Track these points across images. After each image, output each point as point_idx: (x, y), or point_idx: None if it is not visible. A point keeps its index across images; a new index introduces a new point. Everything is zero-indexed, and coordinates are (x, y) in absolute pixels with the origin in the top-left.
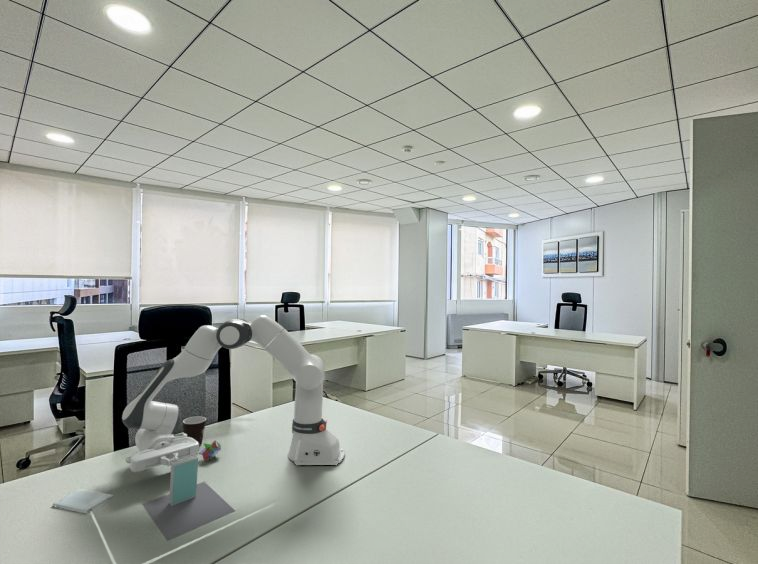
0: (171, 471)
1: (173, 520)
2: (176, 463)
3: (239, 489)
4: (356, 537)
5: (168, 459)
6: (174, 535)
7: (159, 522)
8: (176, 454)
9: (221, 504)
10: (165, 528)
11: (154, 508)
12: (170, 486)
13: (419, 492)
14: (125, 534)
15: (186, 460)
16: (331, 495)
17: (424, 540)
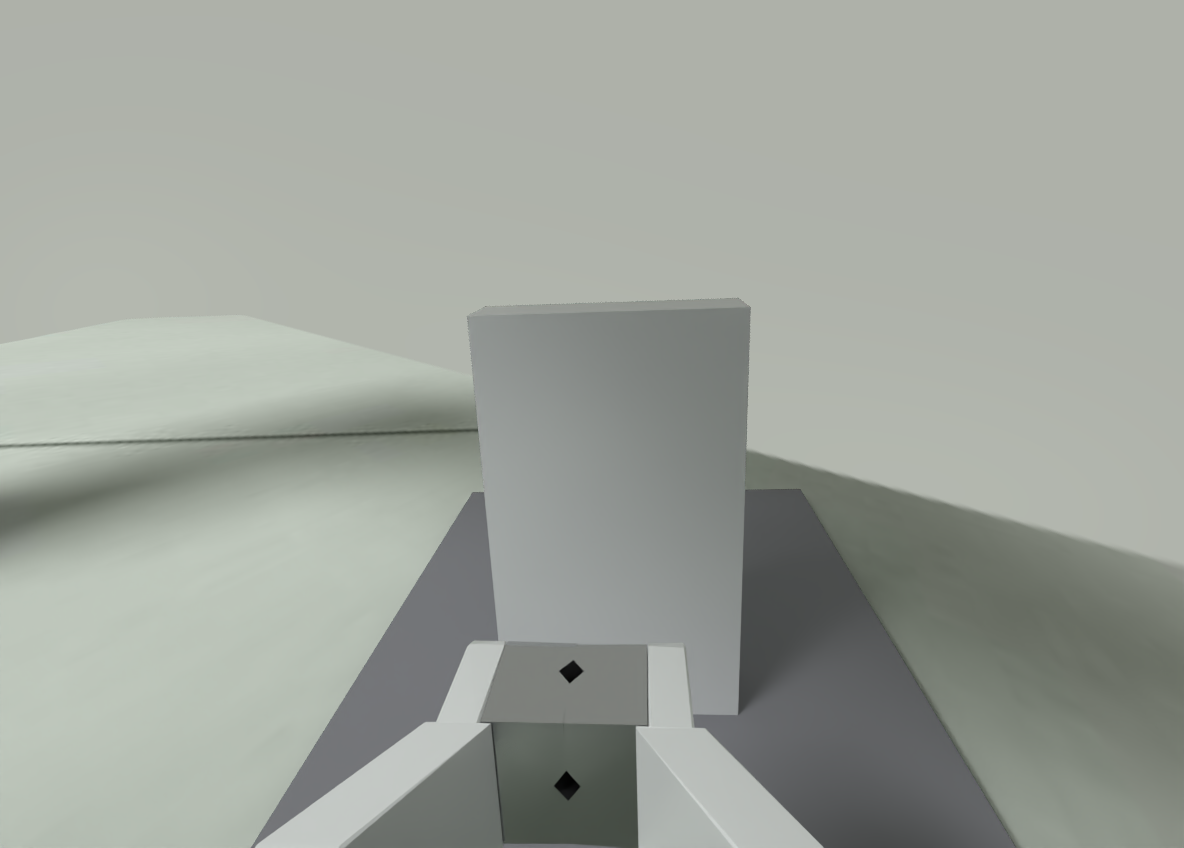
0: (744, 398)
1: (750, 559)
2: (705, 302)
3: (251, 610)
4: (379, 379)
5: (662, 695)
6: (767, 496)
7: (832, 578)
8: (347, 815)
9: (474, 539)
10: (801, 535)
11: (872, 720)
12: (740, 556)
13: (105, 387)
14: (1049, 619)
15: (601, 303)
16: (183, 439)
17: (327, 357)
